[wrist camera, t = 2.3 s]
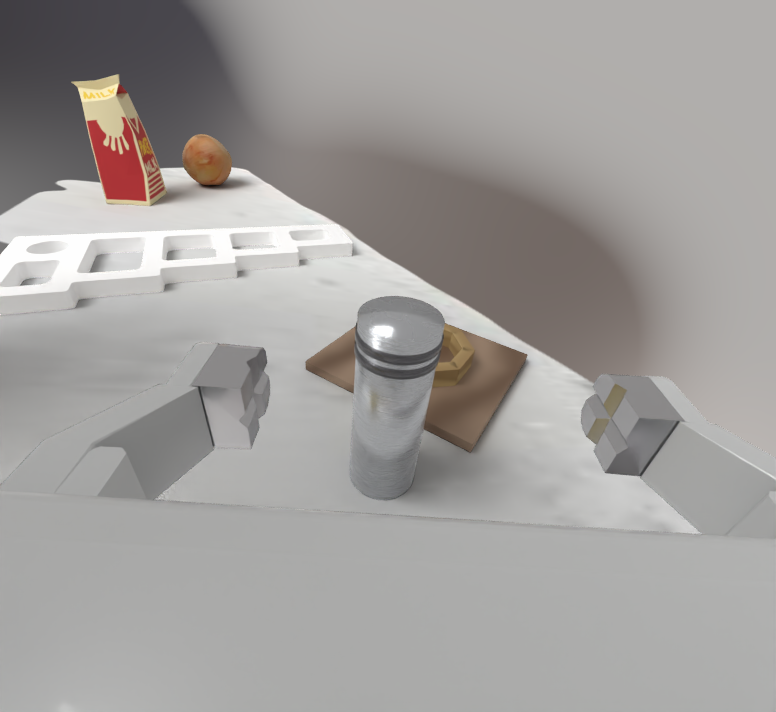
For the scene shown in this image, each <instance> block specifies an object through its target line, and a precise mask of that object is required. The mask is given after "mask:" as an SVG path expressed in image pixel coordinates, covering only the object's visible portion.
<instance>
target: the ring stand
mask: <svg viewBox="0 0 776 712" xmlns="http://www.w3.org/2000/svg"><path fill="white" fill-rule="evenodd" d="M443 334H444V339H443V343H442V348H441V353H440V358H439V363H438V365H437V366H436V369H435V374H434V379H433V384H432V389H431V394H430V399H429V404H428V409H427V414H426V419H425V424H424V429H425V430H427V431H429V432H431V433H433V434H435V435H437V436H439V437H441V438H443V439H445V440H447V441H449V442H451V443H453V444H455V445H457V446H459V447H461V448H463V449H465V450H467V451H469V452H471V451H472V449H473V448H474V446H475V444H476V443H477V441H478V439H479V438H480V436H481V434H482V433H483V431H484V429H485V428H486V426H487V424H488V423H489V421H490V419H491V418H492V416H493V414H494V413H495V411H496V409H497V408H498V406H499V404H500V403H501V401H502V399H503V398H504V396H505V394H506V393H507V391H508V389H509V388H510V386H511V384H512V383H513V381H514V379H515V378H516V376H517V374H518V373H519V371H520V369H521V368H522V366H523V364H524V363H525V361H526V358H527V354H524V353H522V352H519V351H517V350H514V349H511V348H509V347H506V346H503V345H501V344H498V343H496V342H493V341H490V340H488V339H485V338H482V337H480V336H477V335H475V334H472V333H469V332H467V331H464V330H461V329H459V328H456V327H454V326H451V325H448V324H446V323H445V325H444V330H443ZM354 346H355V327H354V328H352V329H351V330H350V331H348V332H347V333H345V334H344V335H342V336H341V337H340V338H338V339H337V340H335V341H334V342H332V343H331V344H330V345H328V346H327V347H325V348H324V349H323V350H321V351H320V352H318V353H317V354H315V355H314V356H313V357H311V358H310V359H308V360H307V361H306V370H308V371H310V372H312V373H314V374H316V375H318V376H320V377H322V378H324V379H326V380H328V381H330V382H332V383H334V384H336V385H338V386H340V387H342V388H344V389H346V390H348V391H350V392H352V393H354V379H355V359H356V357H355V353H354Z"/></svg>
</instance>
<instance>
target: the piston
mask: <svg viewBox="0 0 776 712" xmlns="http://www.w3.org/2000/svg"><path fill="white" fill-rule="evenodd" d="M444 325H445V321H444V318H443V316H442V314H441V313H440V312H439V311H438V310H437V309H436V308H434V307H433V306H431V305H430V304H428V303H425V302H423V301H420V300H417V299H413V298H409V297H401V296H386V297H380V298H376V299H372V300H370V301H368V302H366V303H365V304H363V305H362V306H361V307H360V309H359V311H358V321H357V323H356V326H355V346H354V353H355V357H356V359H355V379H354V398H353V417H352V437H351V456H350V478H351V481H352V483H353V484H354V486H355V487H356V488H357V490H359V491H360V492H361V493H362V494H364V495H366V496H368V497H370V498H373V499H378V500H389V499H394V498H396V497H399V496H401V495H402V494H404V493H405V492H406V491H407V490H408V489H409V488H410V486H411V484H412V482H413V478H414V473H415V468H416V463H417V458H418V453H419V448H420V444H421V439H422V434H423V429H424V424H425V419H426V414H427V409H428V404H429V399H430V394H431V389H432V384H433V379H434V374H435V369H436V366H437V365H438V363H439V358H440V353H441V348H442V343H443V339H444V334H443V330H444Z"/></svg>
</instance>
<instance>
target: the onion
mask: <svg viewBox="0 0 776 712" xmlns="http://www.w3.org/2000/svg"><path fill="white" fill-rule="evenodd" d="M183 166H184V169H185V170H186V171H187V173H188V174H189V175H190V176H191V177H192V178H193V179H194V180H195V181H197V182H198V183H200V184H203V185H220V184H222V183H223V182H225V181H226V179H227V178H228V176H229V174H230V172H231V167H232V160H231V157H230V154H229V153H228V151H227V150H226V149H225V147H224V146H223V145H222V144H221V143H220V142H219V141H217V140H216V139H214V138H212V137H210V136H208V135H203V134H199V135H196V136H194V137H192V138H191V139H190V140H189V141H188V142H187V144H186V146H185V148H184V151H183Z"/></svg>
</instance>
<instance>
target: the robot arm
mask: <svg viewBox="0 0 776 712" xmlns="http://www.w3.org/2000/svg"><path fill="white" fill-rule="evenodd" d="M266 364H267V357H266V351H265V350H264V348H261V347H251V346H240V345H230V344H219V343H206V342H199V343H196V344H195V345H194V346H193V348H192V349H191V350H190V352H189V353H188V354H187V356H186V357H185V359H184V360H183V361H182V363H181V364H180V365H179V367H178V368H177V369H176V371H175V372H174V374H173V375H172V376H171V378H170V379H169V380H168V382H167V383H166V384H158V385H156V386H154V387H152V388H149V389H147V390H145V391H143V392H141V393H139V394H137V395H135V396H133V397H131V398H129V399H127V400H125V401H123V402H121V403H119V404H117V405H115V406H113V407H110V408H108V409H106V410H104V411H102V412H100V413H98V414H96V415H94V416H92V417H90V418H88V419H86V420H84V421H82V422H80V423H78V424H76V425H74V426H72V427H69V428H67V429H65V430H63V431H61V432H59V433H57V434H55V435H53V436H51V437H49V438H47V439H45V440H43V441H42V442H41V443H40V444H39V445H38V446H37V447H36V448H35V449H34V450H33V451H32V452H31V453H30V455H29V456H28V457H27V458H26V459H25V460H24V461H23V462H22V463H21V464H20V465H19V466H18V467H17V468H16V469H15V470H14V471H13V472H12V473H11V474H10V475H9V477H8V478H7V479H6V480H5V481H4V482H3V483H2V484H1V485H0V712H776V458H775V457H774V456H772V455H770V454H768V453H766V452H765V451H763V450H761V449H759V448H758V447H756V446H754V445H752V444H751V443H749V442H747V441H745V440H743V439H742V438H740V437H738V436H736V435H734V434H733V433H731V432H729V431H727V430H726V429H724V428H722V427H720V426H718V425H717V424H709V423H708V421H707V420H706V419H705V418H704V417H703V416H702V415H701V414H700V412H699V411H698V410H697V409H696V408H695V407H694V406H693V405H692V403H691V402H690V401H689V400H688V399H687V398H686V396H685V395H684V394H683V393H682V392H681V391H680V390H679V389H678V388H677V386H676V385H675V384H674V383H673V382H672V381H671V380H670V379H668V378H666V377H656V376H629V375H614V374H601V375H600V376H599V377H598V378H597V379H596V381H595V383H594V385H593V388H594V391H595V393H596V394H594V395H593V396H591V397H590V398H588V399H587V400H586V401H585V404H584V406H583V408H582V412H581V424H582V429H583V431H584V433H585V435H586V437H587V438H589V439H590V440H591V441H593V442H594V443H595V444H596V446H595V449H594V453H595V455H596V456H597V458H598V460H599V462H600V464H601V466H602V468H603V470H604V472H605V473H610V474H620V475H631V476H641V477H640V478H641V479H642V480H643V481H644V482H645V483H646V484H647V485H648V486H650V487H651V488H652V489H653V490H654V491H655V492H656V493H657V494H658V495H660V496H661V497H662V498H663V499H664V500H665V501H666V502H667V503H668V504H669V505H671V506H672V507H673V508H674V509H675V510H676V511H677V512H678V513H679V514H681V515H682V516H683V517H684V518H685V519H686V520H687V521H688V522H689V523H690V524H692V525H693V526H694V527H695V528H696V529H697V530H698V531H699V532H700V533H702V534H687V533H672V532H656V531H640V530H624V529H608V528H593V527H577V526H561V525H545V524H530V523H514V522H498V521H482V520H466V519H450V518H434V517H418V516H402V515H386V514H370V513H355V512H339V511H323V510H307V509H291V508H275V507H259V506H243V505H227V504H211V503H196V502H180V501H164V500H154V499H155V498H157V497H158V496H159V495H160V494H161V493H163V492H164V491H165V490H166V489H167V488H169V487H170V486H171V485H172V484H173V483H175V482H176V481H177V480H178V479H179V478H180V477H182V476H183V475H184V474H185V473H186V472H188V471H189V470H190V469H191V468H192V467H194V466H195V465H196V464H197V463H198V462H200V461H201V460H202V459H203V458H204V457H206V456H207V455H208V454H209V453H210V452H212V451H213V450H214V448H234V449H251V448H252V446H253V443H254V441H255V438H256V435H257V433H258V430H259V421H258V418H260V417H261V416H263V415H264V414H265V412H266V409H267V406H268V401H269V395H270V381H269V376H268V375H267V374H266V373H265V372H264V369H265V366H266Z"/></svg>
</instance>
